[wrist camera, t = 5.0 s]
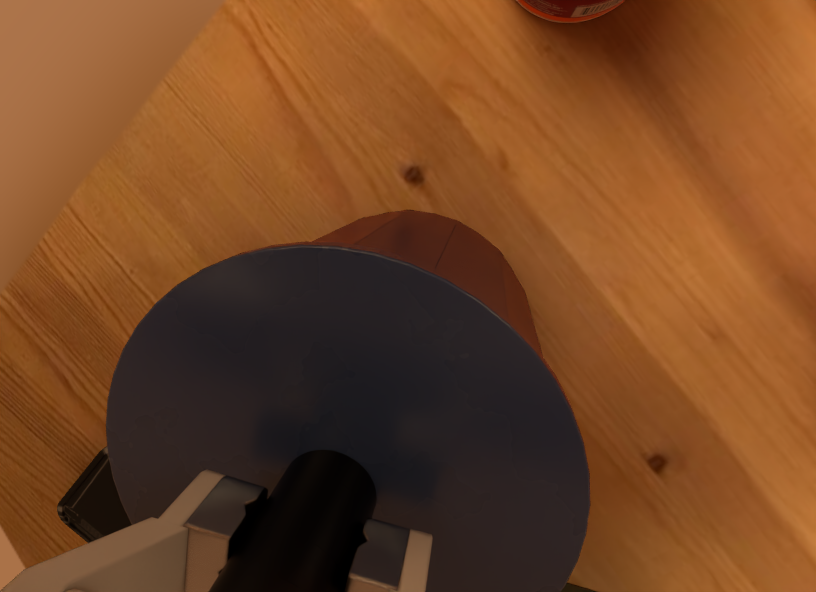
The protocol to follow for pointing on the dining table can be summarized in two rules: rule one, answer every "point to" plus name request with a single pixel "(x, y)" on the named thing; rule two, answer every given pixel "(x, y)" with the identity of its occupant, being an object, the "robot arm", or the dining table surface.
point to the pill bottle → (569, 9)
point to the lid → (352, 420)
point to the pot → (445, 256)
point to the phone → (94, 502)
